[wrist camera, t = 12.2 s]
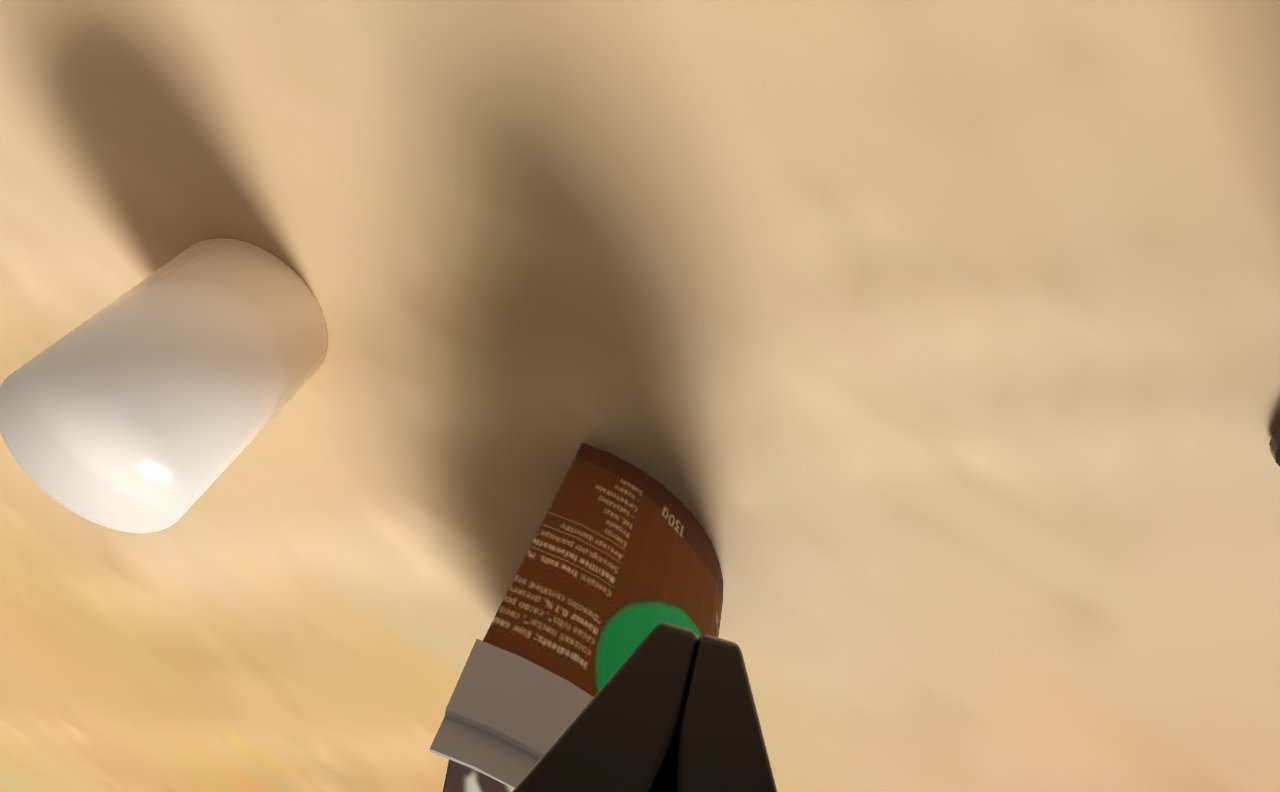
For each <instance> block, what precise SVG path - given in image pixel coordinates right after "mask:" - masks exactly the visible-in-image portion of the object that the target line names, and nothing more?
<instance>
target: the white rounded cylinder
mask: <svg viewBox="0 0 1280 792" xmlns="http://www.w3.org/2000/svg"><path fill="white" fill-rule="evenodd" d="M327 347H328V333H327V326H326V322H325V318H324V315H323V313H322V310H321V308H320V306H319V304H318V302H317V300H316V298H315V296H314V295H313V293H312V292H311V290H310V289H309V287H308V286H307V285H306V284H305V282H304V281H303V280H302V279H301V278H300V277H299V276H298V275H297V274H296V272H295V271H294V270H292V269H291V268H290V267H289V266H288V265H287V264H285V263H284V262H283V261H282V260H280V259H279V258H277V257H276V256H274V255H273V254H271V253H269V252H268V251H266V250H264V249H262V248H260V247H258V246H255V245H253V244H250V243H247V242H244V241H240V240H235V239H228V238H213V239H208V240H203V241H200V242H198V243H196V244H194V245H192V246H191V247H189V248H188V249H186V250H185V251H183V252H182V253H181V254H179V255H178V256H176V257H175V258H174V259H172V260H171V261H169V262H168V263H167V264H165V265H164V266H162V267H161V268H159V269H158V270H157V271H155V272H154V273H152V274H151V275H150V276H148V277H147V278H145V279H144V280H143V281H141V282H140V283H138V284H137V285H136V286H134V287H133V288H131V289H130V290H129V291H127V292H126V293H124V294H123V295H122V296H120V297H119V298H117V299H116V300H115V301H113V302H112V303H110V304H109V305H108V306H106V307H105V308H103V309H102V310H101V311H99V312H98V313H96V314H95V315H94V316H92V317H91V318H89V319H88V320H87V321H85V322H84V323H82V324H81V325H80V326H78V327H77V328H75V329H74V330H73V331H71V332H70V333H68V334H67V335H66V336H64V337H63V338H61V339H60V340H59V341H57V342H56V343H54V344H53V345H52V346H50V347H49V348H47V349H46V350H45V351H43V352H42V353H40V354H39V355H37V356H36V357H35V358H33V359H32V360H30V361H29V362H28V363H26V364H25V365H23V366H22V367H21V368H19V369H18V370H16V371H15V372H14V373H12V374H11V375H9V376H8V377H7V378H6V380H5V381H4V382H3V383H2V385H1V387H0V431H1V434H2V437H3V439H4V441H5V443H6V445H7V447H8V448H9V450H10V452H11V453H12V455H13V456H14V458H15V459H16V461H17V462H18V463H19V465H20V466H21V467H22V469H23V470H24V471H25V472H26V473H27V474H28V475H29V477H30V478H31V479H32V480H33V481H34V482H35V483H36V484H37V485H38V486H39V487H40V488H42V489H43V490H44V491H45V492H46V493H47V494H49V495H50V496H51V497H52V498H54V499H55V500H56V501H58V502H59V503H60V504H62V505H63V506H65V507H66V508H68V509H70V510H71V511H73V512H74V513H76V514H78V515H80V516H82V517H84V518H86V519H88V520H90V521H92V522H95V523H97V524H99V525H102V526H105V527H108V528H111V529H115V530H119V531H125V532H131V533H150V532H156V531H160V530H163V529H165V528H168V527H170V526H171V525H173V524H174V523H175V522H177V521H178V520H179V518H180V517H181V516H182V515H183V514H184V513H185V512H186V511H187V510H188V509H189V508H190V507H191V506H192V505H193V503H194V502H195V501H196V500H197V499H198V498H199V497H200V496H201V495H202V494H203V493H204V492H205V491H206V489H207V488H208V487H209V486H210V485H211V484H212V483H213V482H214V481H215V480H216V479H217V478H218V477H219V476H220V474H221V473H222V472H223V471H224V470H225V469H226V468H227V467H228V466H229V465H230V464H231V463H232V462H233V461H234V459H235V458H236V457H237V456H238V455H239V454H240V453H241V452H242V451H243V450H244V449H245V448H246V447H247V446H248V444H249V443H250V442H251V441H252V440H253V439H254V438H255V437H256V436H257V435H258V434H259V433H260V432H261V431H262V429H263V428H264V427H265V426H266V425H267V424H268V423H269V422H270V421H271V420H272V419H273V418H274V417H275V416H276V414H277V413H278V412H279V411H280V410H281V409H282V408H283V407H284V406H285V405H286V404H287V403H288V402H289V401H290V399H291V398H292V397H293V396H294V395H295V394H296V393H297V392H298V391H299V390H300V389H301V388H302V387H303V385H304V384H305V383H306V382H307V381H308V380H309V379H310V378H311V377H312V376H313V375H314V374H315V373H316V371H317V370H318V369H319V368H320V366H321V365H322V363H323V361H324V359H325V356H326V352H327Z"/></svg>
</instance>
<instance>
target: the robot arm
mask: <svg viewBox="0 0 1280 792" xmlns="http://www.w3.org/2000/svg"><path fill="white" fill-rule="evenodd" d="M1269 445H1270V451H1271V453H1272V455H1273V457H1274V459H1275V461H1276V463H1277V464H1278V465H1279V466H1280V426H1279V427H1278V429H1277V430H1276V431H1275V433H1274V434H1273V436H1272V438H1271V440H1270V443H1269ZM697 639H698V637H697V634H696V633H695V632H694V631H692V630H690V629H686V628H683V627H679V626H676V625H672V624H669V623H664V622H663V623H660V624H658V625H657V626H655V627H654V629H653V630H652V631H651V632H650V633H649V634H648V635H647V637H646V638H645V639H644V640H643V641H642V642H641V643H640V645H639V646H638V647H637V648H636V649H635V650H634V652H633V653H632V654H631V655H630V656H629V657H628V658H627V660H626V661H625V662H624V663H623V664H622V665H621V666H620V668H619V669H618V670H617V671H616V672H615V673H614V675H613V676H612V677H611V678H610V679H609V680H608V681H607V683H606V684H605V685H604V686H603V687H602V688H601V690H600V691H599V692H598V693H597V694H596V695H595V696H594V698H593V699H592V700H591V701H590V702H589V703H588V704H587V706H586V707H585V708H584V709H583V710H582V711H581V713H580V714H579V715H578V716H577V717H576V718H575V719H574V721H573V722H572V723H571V724H570V725H569V726H568V728H567V729H566V730H565V731H564V732H563V733H562V734H561V736H560V737H559V738H558V739H557V740H556V741H555V743H554V744H553V745H552V746H551V747H550V748H549V749H548V751H547V752H546V753H545V754H544V755H543V756H542V757H541V759H540V760H539V761H538V762H537V763H536V764H535V766H534V767H533V768H532V769H531V770H530V771H529V772H528V774H527V775H526V776H525V777H524V778H523V779H522V781H521V782H520V783H519V784H518V785H517V786H516V787H515V789H514V790H513V791H512V792H777V789H776V785H775V781H774V777H773V773H772V769H771V766H770V762H769V758H768V754H767V750H766V746H765V742H764V738H763V734H762V730H761V726H760V722H759V718H758V714H757V710H756V706H755V703H754V699H753V695H752V691H751V687H750V683H749V679H748V675H747V671H746V667H745V663H744V659H743V655H742V652H741V650H740V647H739V646H738V645H737V644H736V643H734V642H731V641H727V640H724V639H720V638H717V637H714V636H710V635H702V636H700V637H699V639H698V641H697Z"/></svg>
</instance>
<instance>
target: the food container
mask: <svg viewBox="0 0 1280 792" xmlns="http://www.w3.org/2000/svg"><path fill="white" fill-rule="evenodd" d="M722 603H723V579H722V574H721V569H720V563H719V561H718V558H717V556H716V553H715V551H714V548H713V546H712V543H711V542H710V540H709V538H708V537H707V535H706V533H705V532H704V530H703V529H702V527H701V525H700V524H699V522H698V521H697V520H696V519H695V518H694V516H693V515H692V514H691V513H690V512H689V510H688V509H687V508H686V507H685V506H684V505H683V503H682V502H680V501H679V500H678V499H677V498H676V497H675V496H674V495H673V494H672V493H670V492H669V491H668V490H667V489H666V488H665V487H664V486H663V485H661V484H660V483H659V482H657V481H656V480H654V479H653V478H651V477H650V476H648V475H647V474H646V473H644V472H643V471H641V470H640V469H638V468H636V467H635V466H633V465H631V464H629V463H627V462H625V461H623V460H621V459H620V458H618V457H616V456H614V455H612V454H609V453H607V452H604V451H602V450H599V449H596V448H594V447H591V446H589V445H586V444H583V443H582V444H581V446H580V448H579V450H578V452H577V454H576V456H575V458H574V460H573V462H572V464H571V466H570V468H569V470H568V472H567V474H566V476H565V478H564V480H563V482H562V484H561V486H560V488H559V490H558V492H557V494H556V496H555V498H554V500H553V502H552V504H551V506H550V508H549V510H548V512H547V514H546V516H545V518H544V520H543V522H542V524H541V526H540V528H539V530H538V532H537V534H536V536H535V538H534V540H533V542H532V544H531V546H530V548H529V550H528V552H527V554H526V556H525V558H524V560H523V562H522V564H521V566H520V568H519V570H518V572H517V574H516V576H515V578H514V580H513V582H512V584H511V586H510V588H509V590H508V592H507V594H506V596H505V598H504V600H503V602H502V604H501V606H500V608H499V610H498V612H497V614H496V616H495V618H494V620H493V622H492V624H491V626H490V628H489V630H488V632H487V634H486V636H485V638H484V640H483V641H481V640H478V639H477V640H476V642H475V644H474V647H473V649H472V651H471V653H470V656H469V658H468V660H467V662H466V665H465V667H464V669H463V672H462V674H461V676H460V678H459V681H458V683H457V685H456V688H455V690H454V692H453V694H452V697H451V699H450V701H449V703H448V706H447V708H446V713H445V717H444V719H443V722H442V724H441V726H440V728H439V730H438V732H437V735H436V737H435V739H434V741H433V743H432V745H431V747H430V752H433V753H435V754H438V755H440V756H442V757H445V758H447V759H449V763H448V768H447V773H446V779H445V784H444V789H443V792H512V791H513V790H514V789H515V787H516V786H517V785H518V784H519V783H520V782H521V781H522V779H523V778H524V777H525V776H526V775H527V774H528V772H529V771H530V770H531V769H532V768H533V767H534V766H535V764H536V763H537V762H538V761H539V760H540V759H541V757H542V756H543V755H544V754H545V753H546V752H547V751H548V749H549V748H550V747H551V746H552V745H553V744H554V743H555V741H556V740H557V739H558V738H559V737H560V736H561V734H562V733H563V732H564V731H565V730H566V729H567V728H568V726H569V725H570V724H571V723H572V722H573V721H574V719H575V718H576V717H577V716H578V715H579V714H580V713H581V711H582V710H583V709H584V708H585V707H586V706H587V704H588V703H589V702H590V701H591V700H592V699H593V698H594V696H595V695H596V694H597V693H598V692H599V691H600V690H601V688H602V687H603V686H604V685H605V684H606V683H607V681H608V680H609V679H610V678H611V677H612V676H613V675H614V673H615V672H616V671H617V670H618V669H619V668H620V666H621V665H622V664H623V663H624V662H625V661H626V660H627V658H628V657H629V656H630V655H631V654H632V653H633V652H634V650H635V649H636V648H637V647H638V646H639V645H640V643H641V642H642V641H643V640H644V639H645V638H646V637H647V635H648V634H649V633H650V632H651V631H652V630H653V629H654V627H655V626H657V625H658V624H660V623H663V622H664V623H669V624H672V625H676V626H679V627H683V628H686V629H690V630H692V631H694V632H695V633H696V634H697V637H698V639H699V637H700V636H702V635H710V636H714V637H717V638H718V636H719V627H720V619H721V611H722ZM698 639H697V641H698Z"/></svg>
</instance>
